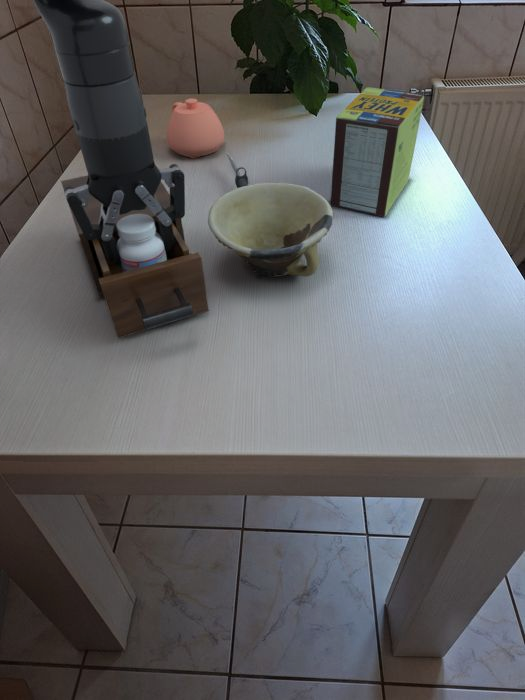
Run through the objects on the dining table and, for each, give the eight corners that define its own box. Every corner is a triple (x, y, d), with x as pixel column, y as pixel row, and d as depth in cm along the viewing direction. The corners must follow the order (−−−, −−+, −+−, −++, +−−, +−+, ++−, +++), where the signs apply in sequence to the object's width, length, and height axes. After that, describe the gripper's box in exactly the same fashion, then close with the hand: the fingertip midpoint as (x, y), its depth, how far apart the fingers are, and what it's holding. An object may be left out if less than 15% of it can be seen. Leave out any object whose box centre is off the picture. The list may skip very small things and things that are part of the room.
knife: (221, 163, 101) (220, 139, 97) (233, 162, 101) (231, 138, 98) (246, 214, 89) (245, 189, 85) (258, 212, 89) (258, 187, 85)
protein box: (409, 180, 95) (425, 93, 84) (384, 218, 86) (399, 126, 75) (357, 170, 99) (366, 85, 88) (328, 205, 89) (334, 116, 78)
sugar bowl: (189, 167, 102) (181, 115, 95) (154, 146, 110) (145, 97, 102) (236, 150, 107) (233, 100, 100) (200, 131, 115) (194, 83, 108)
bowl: (191, 264, 78) (182, 208, 71) (278, 222, 86) (277, 169, 79) (264, 319, 68) (261, 261, 61) (354, 267, 76) (360, 210, 69)
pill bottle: (122, 305, 68) (101, 233, 60) (140, 278, 72) (122, 208, 64) (163, 311, 67) (147, 238, 59) (179, 283, 71) (166, 212, 63)
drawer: (222, 334, 65) (215, 279, 58) (127, 365, 61) (109, 310, 55) (176, 252, 78) (166, 201, 72) (96, 274, 75) (79, 221, 69)
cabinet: (190, 273, 76) (179, 210, 68) (100, 298, 72) (78, 234, 65) (160, 222, 87) (149, 162, 79) (81, 241, 83) (60, 180, 76)
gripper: (166, 99, 57) (186, 227, 69) (37, 122, 53) (81, 253, 65) (185, 121, 52) (203, 255, 64) (45, 148, 48) (91, 285, 60)
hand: (142, 254), depth 65 cm, fingers closed on pill bottle, 6 cm apart
